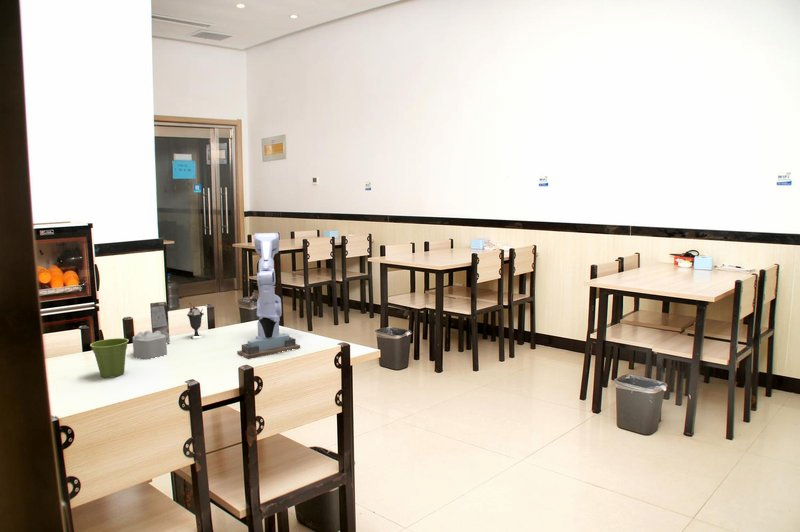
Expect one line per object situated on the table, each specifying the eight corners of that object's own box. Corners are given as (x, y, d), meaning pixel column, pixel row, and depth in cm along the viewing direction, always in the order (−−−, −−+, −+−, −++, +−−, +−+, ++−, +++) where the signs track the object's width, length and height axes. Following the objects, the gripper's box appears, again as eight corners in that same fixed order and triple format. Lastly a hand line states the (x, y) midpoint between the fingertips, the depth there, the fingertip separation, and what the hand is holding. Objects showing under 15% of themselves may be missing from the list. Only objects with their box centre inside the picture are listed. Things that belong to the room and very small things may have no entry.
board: (237, 354, 229) (236, 344, 229) (288, 344, 243) (288, 335, 243) (248, 359, 222) (247, 349, 222) (300, 348, 236) (300, 339, 236)
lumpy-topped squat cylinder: (144, 360, 222) (142, 337, 221) (127, 354, 231) (125, 332, 230) (170, 354, 230) (169, 332, 229) (153, 349, 239) (152, 327, 238)
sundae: (184, 338, 255) (182, 303, 253) (196, 335, 261) (194, 300, 259) (196, 340, 252) (194, 304, 250) (208, 336, 258) (206, 301, 256)
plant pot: (120, 367, 214) (118, 336, 212) (137, 373, 206) (135, 341, 205) (86, 375, 204) (83, 343, 203) (102, 382, 197) (99, 348, 196)
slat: (248, 351, 229) (247, 340, 228) (285, 343, 239) (285, 333, 238) (251, 352, 226) (251, 342, 226) (289, 345, 237) (289, 335, 236)
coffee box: (170, 343, 246) (167, 305, 244) (153, 345, 244) (150, 306, 242) (168, 339, 254) (166, 301, 252) (152, 340, 252) (149, 302, 250)
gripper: (248, 301, 233) (250, 335, 235) (266, 306, 222) (268, 342, 224) (265, 298, 238) (266, 332, 239) (283, 303, 227) (285, 339, 228)
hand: (268, 337), depth 232 cm, fingers closed
